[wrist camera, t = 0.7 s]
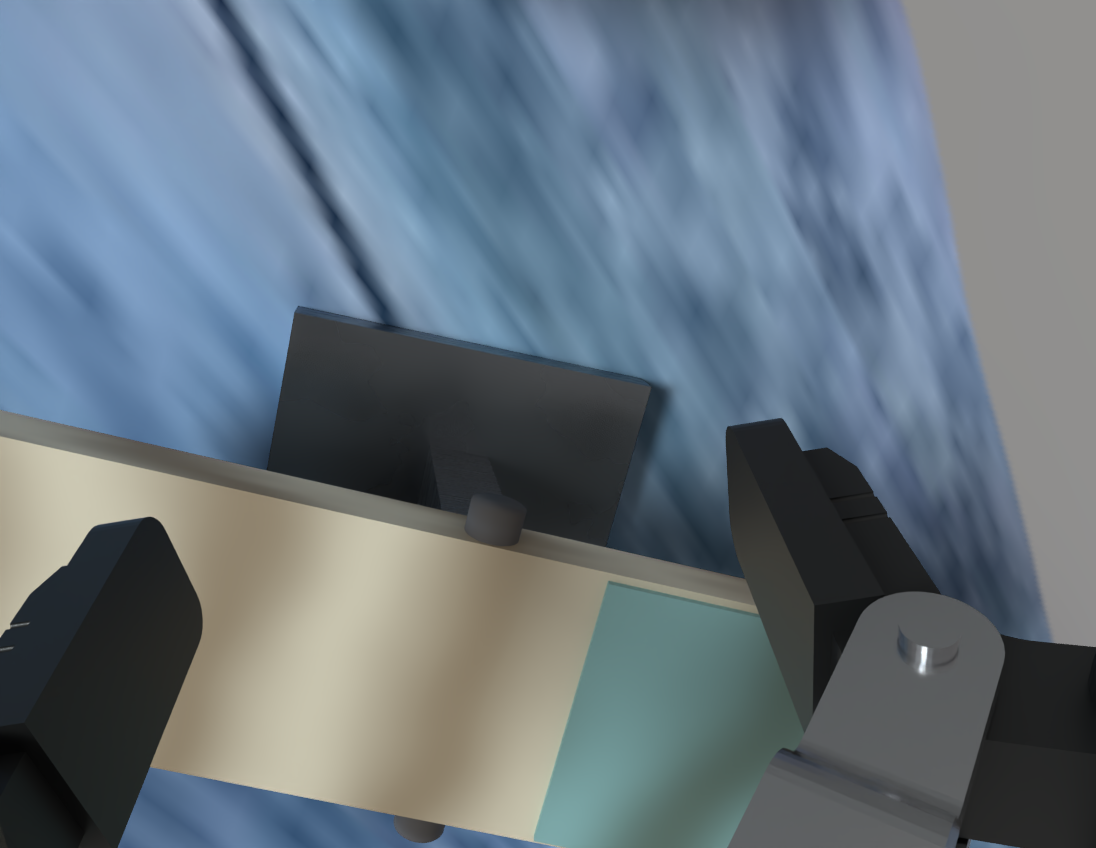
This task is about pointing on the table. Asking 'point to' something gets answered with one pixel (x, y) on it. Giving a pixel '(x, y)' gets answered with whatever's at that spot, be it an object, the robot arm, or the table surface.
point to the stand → (455, 423)
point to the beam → (423, 650)
